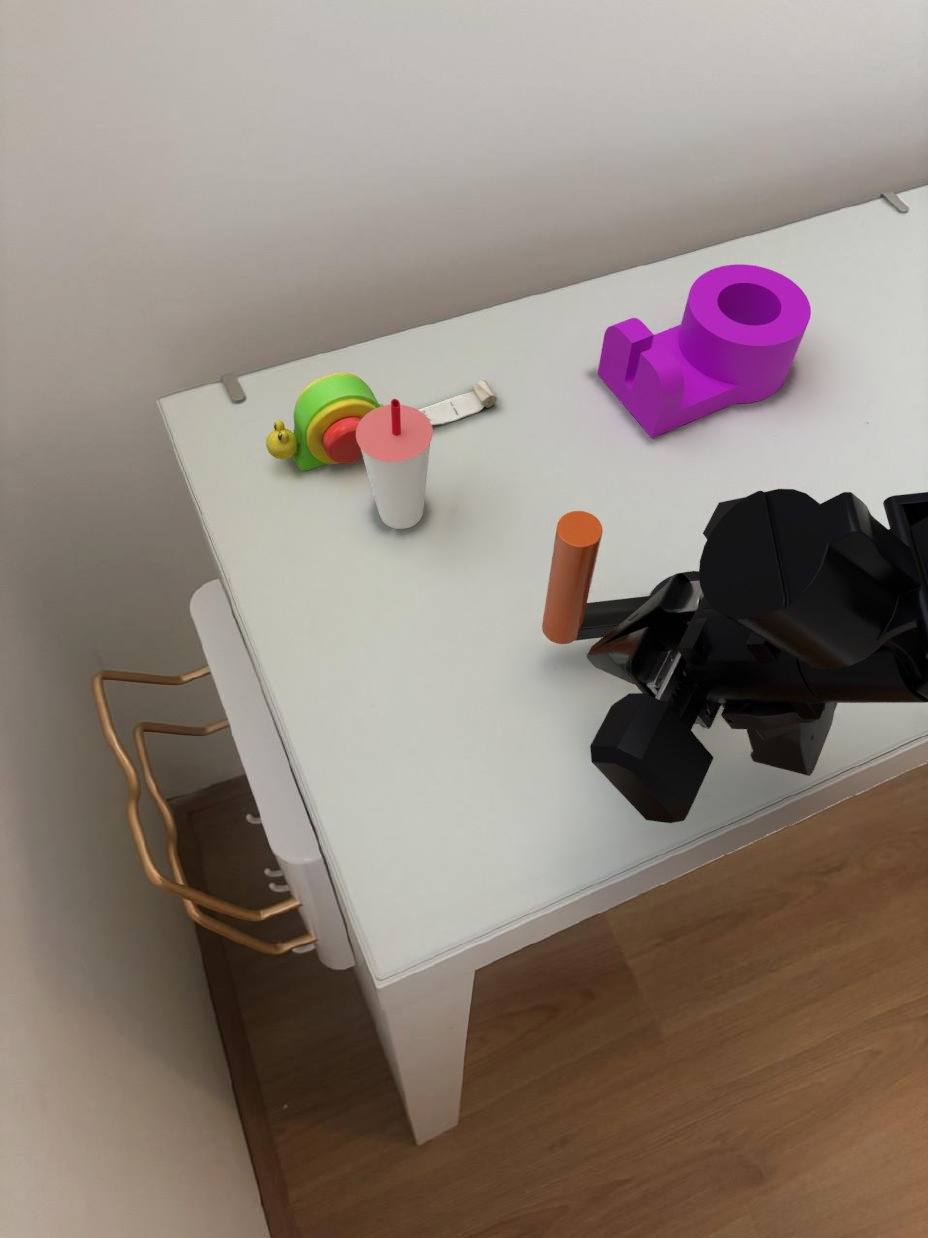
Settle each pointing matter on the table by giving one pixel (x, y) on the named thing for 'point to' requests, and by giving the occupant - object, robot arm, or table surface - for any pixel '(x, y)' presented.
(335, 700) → the table surface
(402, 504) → the cup
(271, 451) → the toy measuring tape
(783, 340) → the tape dispenser
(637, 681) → the robot arm
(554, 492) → the table surface
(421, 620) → the table surface
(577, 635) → the crank handle
